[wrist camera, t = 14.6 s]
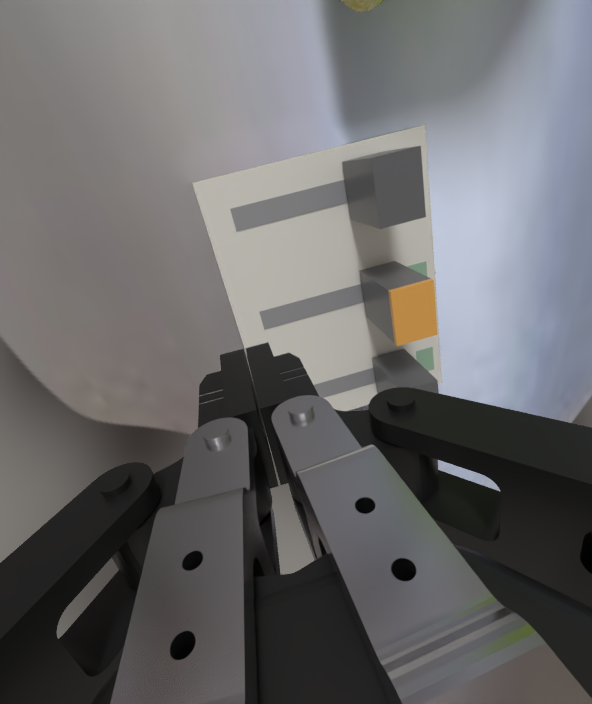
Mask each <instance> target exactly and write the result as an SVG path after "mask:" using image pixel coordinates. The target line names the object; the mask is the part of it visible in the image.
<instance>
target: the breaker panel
mask: <svg viewBox="0 0 592 704" xmlns="http://www.w3.org/2000/svg"><path fill="white" fill-rule="evenodd" d="M415 146H421V155H422V169H423V183H424V197H425V211H426V217H424V218H420V219H417V220H413V221H409V222H405V223H402V224H398V225H394V226H390V227H387V228H383V229H378V228H375V227H372V226H369V225H366V224H363V223H360V222H357V221H354V220H351V218H350V211H349V205H348V198H347V192H346V185H345V179H344V172H343V166H342V162H343V161H347V160H351V159H355V158H359V157H363V156H367V155H370V154H374V153H378V152H382V151H389V150H395V149H402V148H408V147H415ZM193 186H194V190H195V193H196V196H197V199H198V202H199V205H200V209H201V212H202V215H203V218H204V221H205V224H206V228H207V231H208V234H209V237H210V240H211V243H212V247H213V250H214V253H215V256H216V259H217V262H218V266H219V269H220V272H221V275H222V278H223V281H224V285H225V288H226V291H227V294H228V297H229V300H230V304H231V307H232V310H233V313H234V316H235V319H236V323H237V326H238V329H239V332H240V335H241V338H242V342H243V345H244V348H248V347H252V346H256V345H259V344H263V343H267V342H268V343H269V345H270V348H271V351H272V353H273V356H274V357H275V356H278V355H282V354H286V353H291V354H293V355H295V356H297V357H299V358H300V360H301V362H302V364H303V366H304V368H305V370H306V372H307V374H308V376H309V377H310V379H311V381H312V383H313V385H314V387H315V389H316V391H317V393H318V395H319V397H322V398H324V399H326V400H327V401H328V402H329V403H330V404H331V406H332V407H333V408H334V409H335V410H340V411H349V410H352V409H356V408H359V407H362V406H366V405H369V402H370V400H371V399H372V398H373V397H374V396H375V395H376V394H378V393H377V387H376V380H375V374H374V367H373V361H372V358H373V357H376V356H380V355H383V354H387V353H390V352H394V351H397V350H400V349H405V350H406V351H407V352H408V353H409V354H410V355H411V356H412V357H413V358H415V359H416V360H417V361H418V362H419V363H420V364H421V365H422V366H423V367H424V368H425V369H426V370H427V371H428V372H429V373H430V374H431V375H433V376H434V377H435V378H436V379H437V380H438V384H440V383H442V374H441V359H440V343H439V328H438V313H437V297H436V282H435V267H434V251H433V236H432V221H431V205H430V190H429V175H428V159H427V144H426V129H425V125H422V126H418V127H414V128H410V129H406V130H402V131H398V132H394V133H390V134H386V135H382V136H378V137H374V138H370V139H366V140H362V141H358V142H354V143H350V144H346V145H342V146H338V147H334V148H330V149H326V150H322V151H318V152H314V153H310V154H306V155H302V156H298V157H294V158H290V159H286V160H282V161H278V162H274V163H270V164H266V165H262V166H258V167H254V168H250V169H246V170H242V171H238V172H234V173H230V174H226V175H222V176H218V177H214V178H210V179H206V180H202V181H199V182H195V183H193ZM393 261H396V262H398V263H400V264H402V265H404V266H406V267H408V268H410V269H412V270H414V271H416V272H419V273H421V274H423V275H425V276H427V277H429V278H431V279H433V280H434V288H435V303H436V318H437V333H438V335H435V336H431V337H428V338H424V339H421V340H417V341H414V342H410V343H407V344H403V345H400V346H396V345H395V344H394V343H393V342H392V341H391V340H390V339H389V338H388V337H387V336H386V335H385V334H384V333H383V332H382V331H381V330H380V329H379V328H378V327H377V326H376V325H375V324H374V323H373V322H372V321H371V320H370V319H368V318H367V317H366V311H365V305H364V298H363V292H362V285H361V279H360V272H359V271H360V270H363V269H367V268H371V267H374V266H378V265H382V264H385V263H389V262H393ZM245 351H246V349H245ZM246 354H247V353H246Z"/></svg>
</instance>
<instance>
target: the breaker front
mask: <svg viewBox="0 0 592 704" xmlns="http://www.w3.org/2000/svg"><path fill="white" fill-rule="evenodd" d="M342 166H343V172H344V179H345V185H346V192H347V198H348V205H349V211H350V218H351V220H354V221H357V222H360V223H363V224H366V225H369V226H372V227H375V228H378V229H383V228H387V227H390V226H394V225H398V224H402V223H405V222H409V221H413V220H417V219H420V218H424V217H426V211H425V197H424V183H423V169H422V155H421V146H415V147H408V148H402V149H395V150H389V151H382V152H378V153H374V154H370V155H367V156H363V157H359V158H355V159H351V160H347V161H343V162H342Z"/></svg>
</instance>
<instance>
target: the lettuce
mask: <svg viewBox="0 0 592 704" xmlns="http://www.w3.org/2000/svg"><path fill="white" fill-rule="evenodd" d="M341 1H342V2H343V3H344V4H345V5H346V6H348V7H349V8H351V9H353V10H355V11H357V12H370V11H371V10H372V9H374V8H375V7H376V6H378V5H379V4H380V3H381V2H382V1H383V0H341Z"/></svg>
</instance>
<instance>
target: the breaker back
mask: <svg viewBox="0 0 592 704" xmlns="http://www.w3.org/2000/svg"><path fill="white" fill-rule="evenodd" d="M372 361H373V367H374V374H375V380H376V387H377V393H379V392H382V391H384V390H387V389H391V388H397V387H410V388H416V389H420V390H425V391H429V392H434V393H438V380H437V379H436V378H435V377H434V376H433V375H431V374H430V373H429V372H428V371H427V370H426V369H425V368H424V367H423V366H422V365H421V364H420V363H419V362H418V361H417V360H416V359H415V358H413V357H412V356H411V355H410V354H409V353H408V352H407V351H406V350H405V349H400V350H397V351H394V352H390V353H387V354H383V355H380V356H376V357H373V358H372Z"/></svg>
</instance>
